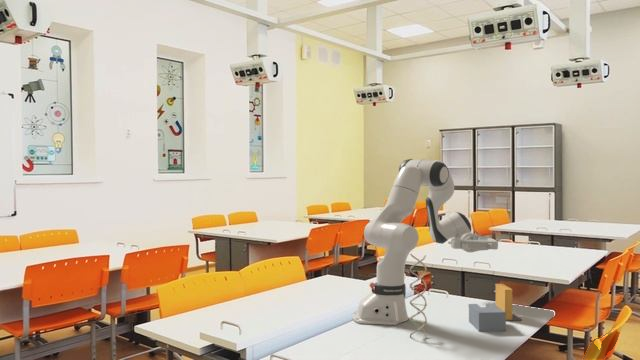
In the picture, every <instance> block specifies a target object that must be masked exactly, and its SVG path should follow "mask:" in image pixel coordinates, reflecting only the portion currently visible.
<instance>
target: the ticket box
mask: <svg viewBox="0 0 640 360" xmlns="http://www.w3.org/2000/svg"><path fill="white" fill-rule="evenodd" d="M468 322H469V324H471V325H472V326H473V327H474V328H475V329H476V330H477V331H478V332H506V330H507V329H506V327H507V321H506V312H505V311H503V310H502V309H501V308H499V307H498V306H497V305H496V303H486V304H485V307H484V306H483V307H481V306H480V305H479V304H478V303H468Z"/></svg>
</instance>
